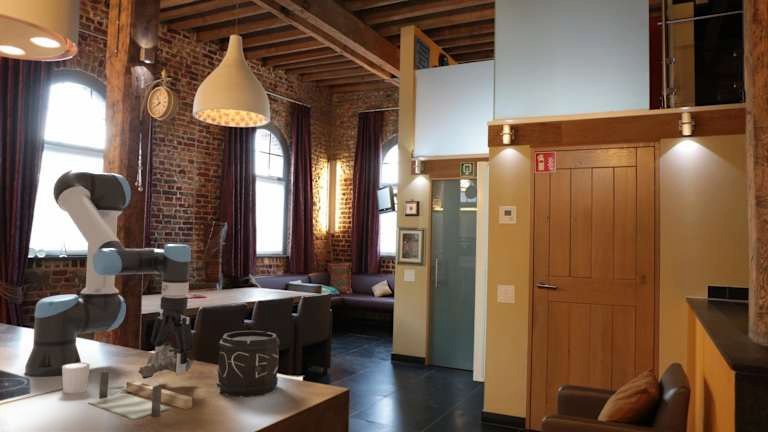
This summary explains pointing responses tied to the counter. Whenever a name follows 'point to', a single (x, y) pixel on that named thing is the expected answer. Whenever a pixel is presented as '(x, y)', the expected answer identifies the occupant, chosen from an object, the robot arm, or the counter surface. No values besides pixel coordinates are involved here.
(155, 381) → the counter surface
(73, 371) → the shot glass
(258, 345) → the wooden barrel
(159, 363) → the decorative stone
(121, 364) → the counter surface
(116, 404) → the grey tray with pegs
